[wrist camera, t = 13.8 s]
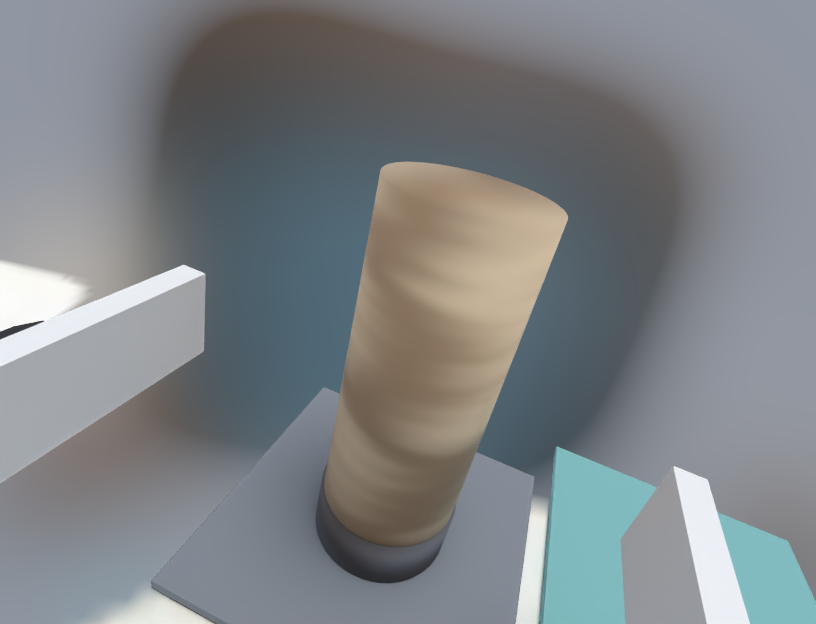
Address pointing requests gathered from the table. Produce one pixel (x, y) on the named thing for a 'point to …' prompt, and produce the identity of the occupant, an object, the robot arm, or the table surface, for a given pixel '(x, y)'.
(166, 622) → the table surface
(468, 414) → the banded sleeve
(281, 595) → the slate seat
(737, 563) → the teal seat
